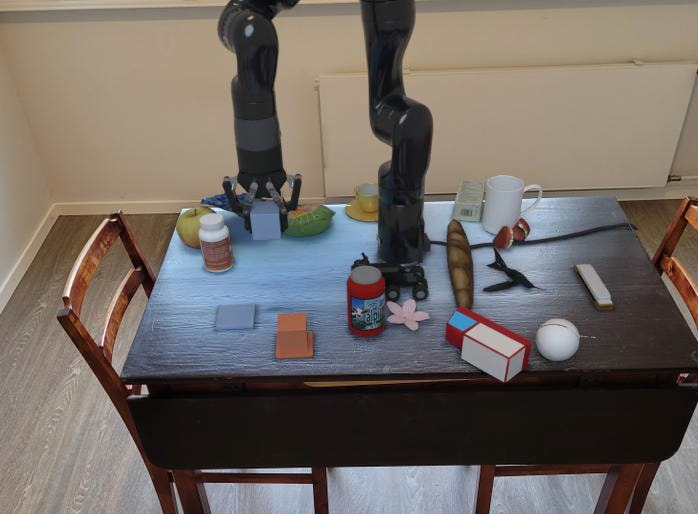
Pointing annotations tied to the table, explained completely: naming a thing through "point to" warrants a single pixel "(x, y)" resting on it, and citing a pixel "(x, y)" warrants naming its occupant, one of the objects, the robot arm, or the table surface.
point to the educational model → (309, 219)
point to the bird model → (511, 273)
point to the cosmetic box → (469, 200)
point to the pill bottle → (215, 243)
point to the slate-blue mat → (236, 317)
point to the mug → (505, 202)
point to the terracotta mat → (298, 354)
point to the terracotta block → (292, 332)
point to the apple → (191, 225)
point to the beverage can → (366, 301)
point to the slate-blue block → (265, 221)
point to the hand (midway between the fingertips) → (267, 230)
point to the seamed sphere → (557, 339)
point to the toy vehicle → (398, 278)
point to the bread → (460, 264)
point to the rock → (224, 204)
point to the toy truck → (488, 344)
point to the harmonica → (594, 286)
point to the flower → (406, 314)
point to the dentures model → (512, 234)
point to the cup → (364, 203)
